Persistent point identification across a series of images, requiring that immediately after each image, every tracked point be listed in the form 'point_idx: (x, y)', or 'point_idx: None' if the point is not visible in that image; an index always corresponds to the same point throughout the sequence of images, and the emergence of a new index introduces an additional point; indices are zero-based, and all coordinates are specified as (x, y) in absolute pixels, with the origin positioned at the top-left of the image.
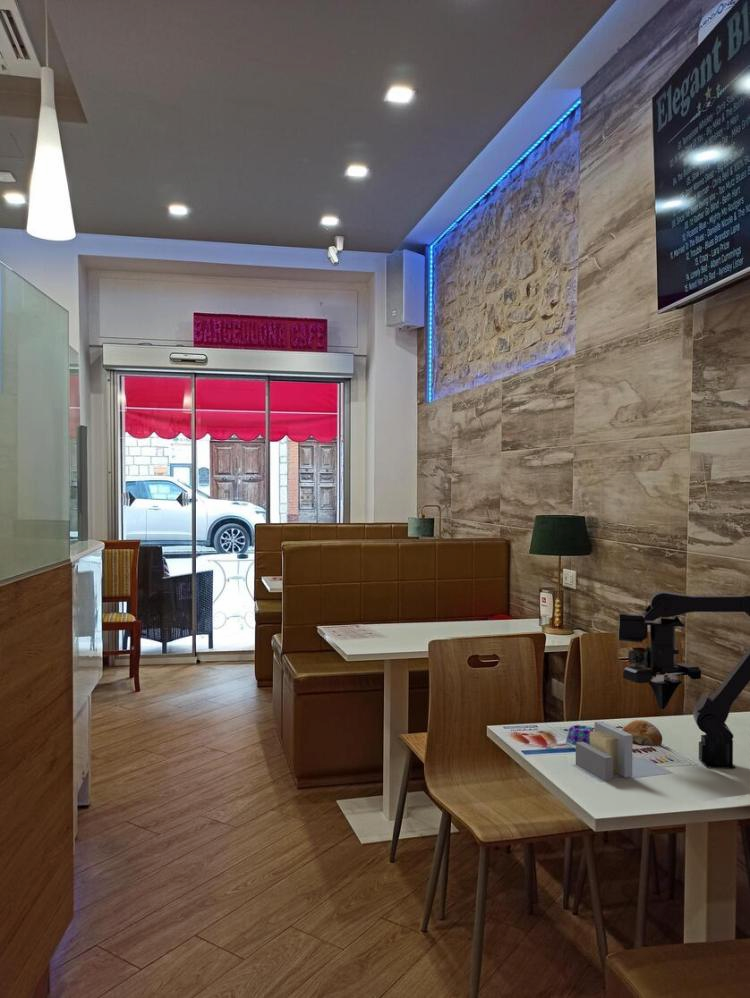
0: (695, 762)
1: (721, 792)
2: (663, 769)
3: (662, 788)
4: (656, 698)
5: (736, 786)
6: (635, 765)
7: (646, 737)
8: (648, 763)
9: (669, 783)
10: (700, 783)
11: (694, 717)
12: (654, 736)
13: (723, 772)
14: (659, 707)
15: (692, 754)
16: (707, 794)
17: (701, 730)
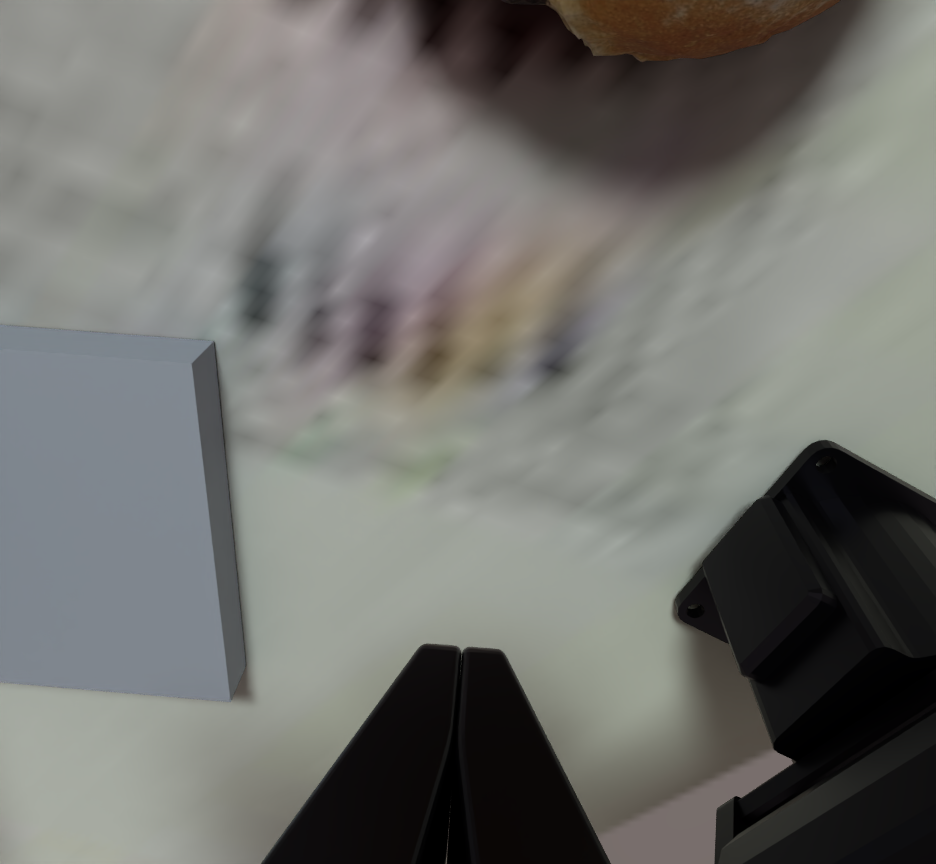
0: (705, 483)
1: None
2: (197, 638)
3: (81, 727)
4: (295, 841)
5: None
6: (17, 505)
7: (556, 1)
8: (156, 510)
9: None
10: None
11: (901, 820)
12: (684, 30)
13: (699, 689)
14: (417, 663)
15: (897, 315)
16: None
17: (734, 839)
